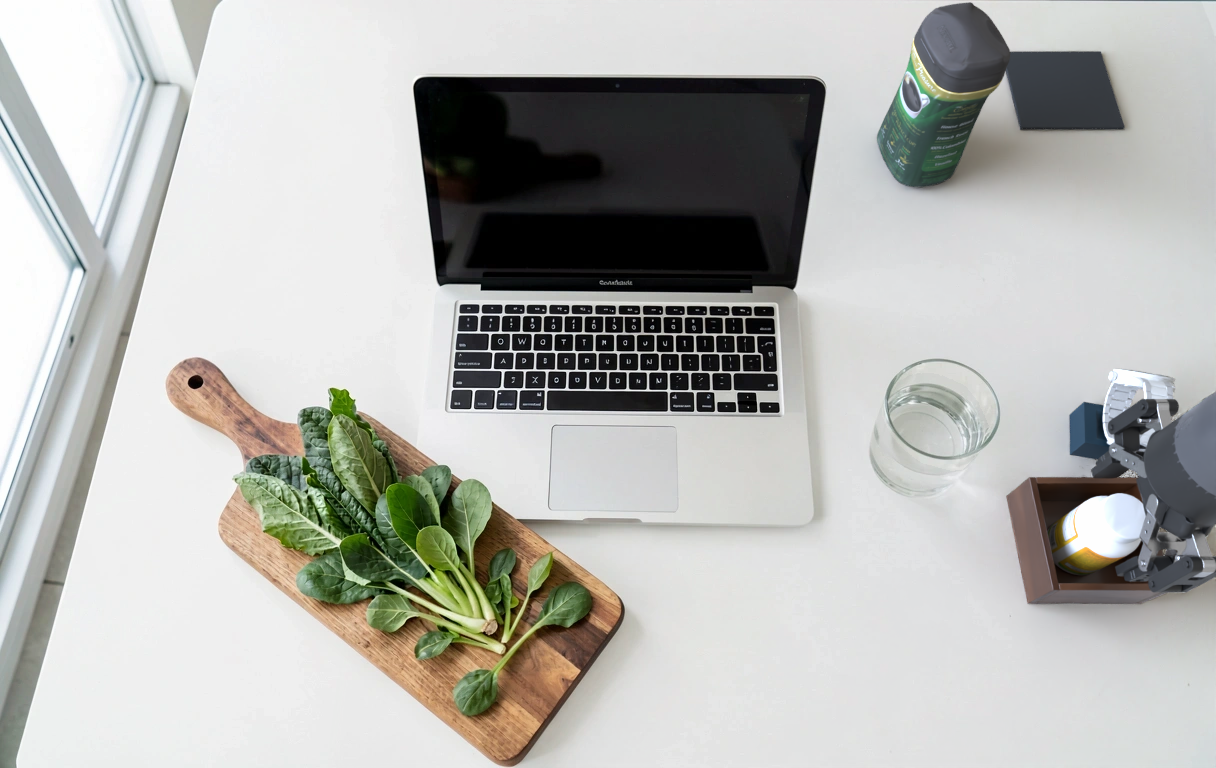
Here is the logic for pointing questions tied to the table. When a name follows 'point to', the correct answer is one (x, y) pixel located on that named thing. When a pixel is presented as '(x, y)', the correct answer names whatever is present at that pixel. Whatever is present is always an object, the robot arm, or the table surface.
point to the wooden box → (1042, 578)
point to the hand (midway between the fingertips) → (1114, 521)
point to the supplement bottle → (1096, 533)
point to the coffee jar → (942, 94)
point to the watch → (1113, 410)
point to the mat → (1062, 91)
